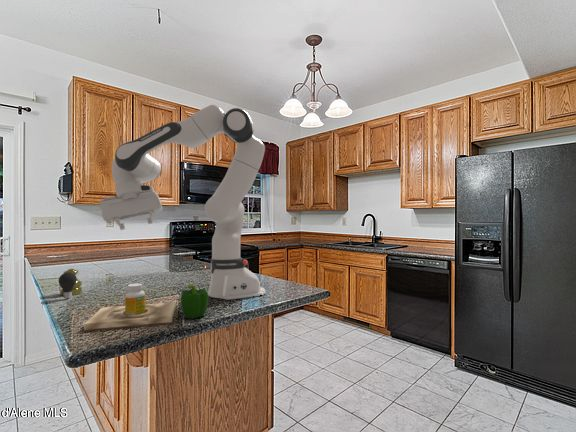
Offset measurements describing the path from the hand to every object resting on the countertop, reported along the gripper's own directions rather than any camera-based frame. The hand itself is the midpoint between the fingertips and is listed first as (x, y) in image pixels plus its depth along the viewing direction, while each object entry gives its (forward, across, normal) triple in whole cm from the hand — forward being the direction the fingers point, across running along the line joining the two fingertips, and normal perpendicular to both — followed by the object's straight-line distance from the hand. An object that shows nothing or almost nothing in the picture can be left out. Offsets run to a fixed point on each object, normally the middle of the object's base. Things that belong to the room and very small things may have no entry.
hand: (136, 226), depth 115 cm
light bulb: (+13, -29, +23) cm, 39 cm away
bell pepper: (+40, +10, -11) cm, 42 cm away
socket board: (+34, -6, -8) cm, 35 cm away
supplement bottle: (+34, -6, -8) cm, 35 cm away
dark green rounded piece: (+9, -30, +31) cm, 44 cm away
